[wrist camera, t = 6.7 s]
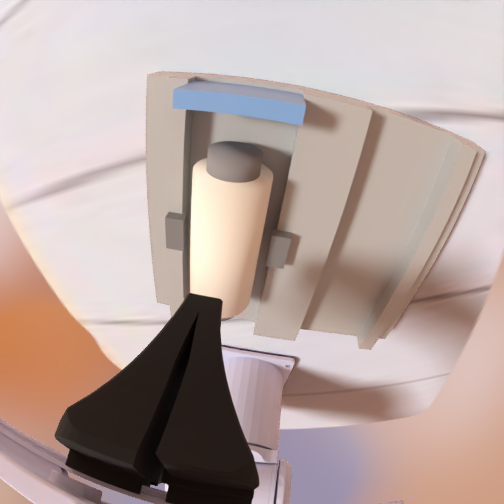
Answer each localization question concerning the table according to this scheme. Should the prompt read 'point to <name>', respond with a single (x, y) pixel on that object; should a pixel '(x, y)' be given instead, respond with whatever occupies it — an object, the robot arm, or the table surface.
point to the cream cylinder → (228, 223)
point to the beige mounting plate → (309, 198)
